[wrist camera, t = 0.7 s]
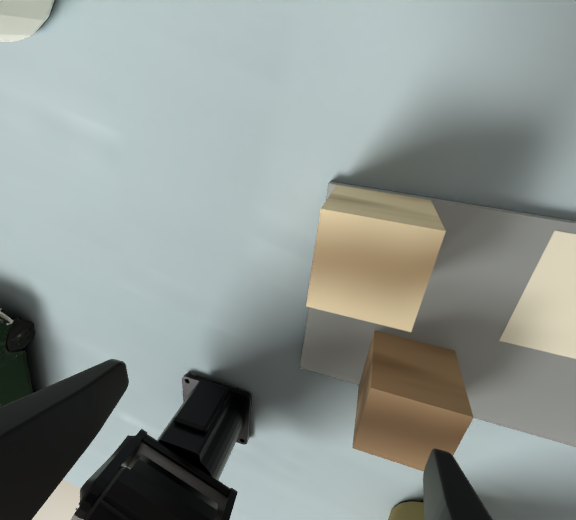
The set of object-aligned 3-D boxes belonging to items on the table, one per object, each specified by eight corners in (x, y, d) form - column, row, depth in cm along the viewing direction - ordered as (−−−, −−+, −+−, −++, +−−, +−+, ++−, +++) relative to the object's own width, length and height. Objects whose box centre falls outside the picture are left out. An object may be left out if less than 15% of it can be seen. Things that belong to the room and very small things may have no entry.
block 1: (405, 281, 19) (411, 332, 15) (323, 263, 20) (306, 306, 16) (431, 200, 17) (445, 231, 13) (337, 184, 18) (320, 208, 14)
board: (636, 457, 20) (643, 466, 20) (301, 362, 25) (299, 368, 24) (822, 260, 14) (840, 267, 14) (330, 181, 19) (328, 183, 18)
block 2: (431, 405, 22) (441, 477, 18) (359, 385, 23) (352, 447, 19) (454, 350, 20) (473, 417, 16) (374, 330, 21) (370, 387, 17)
